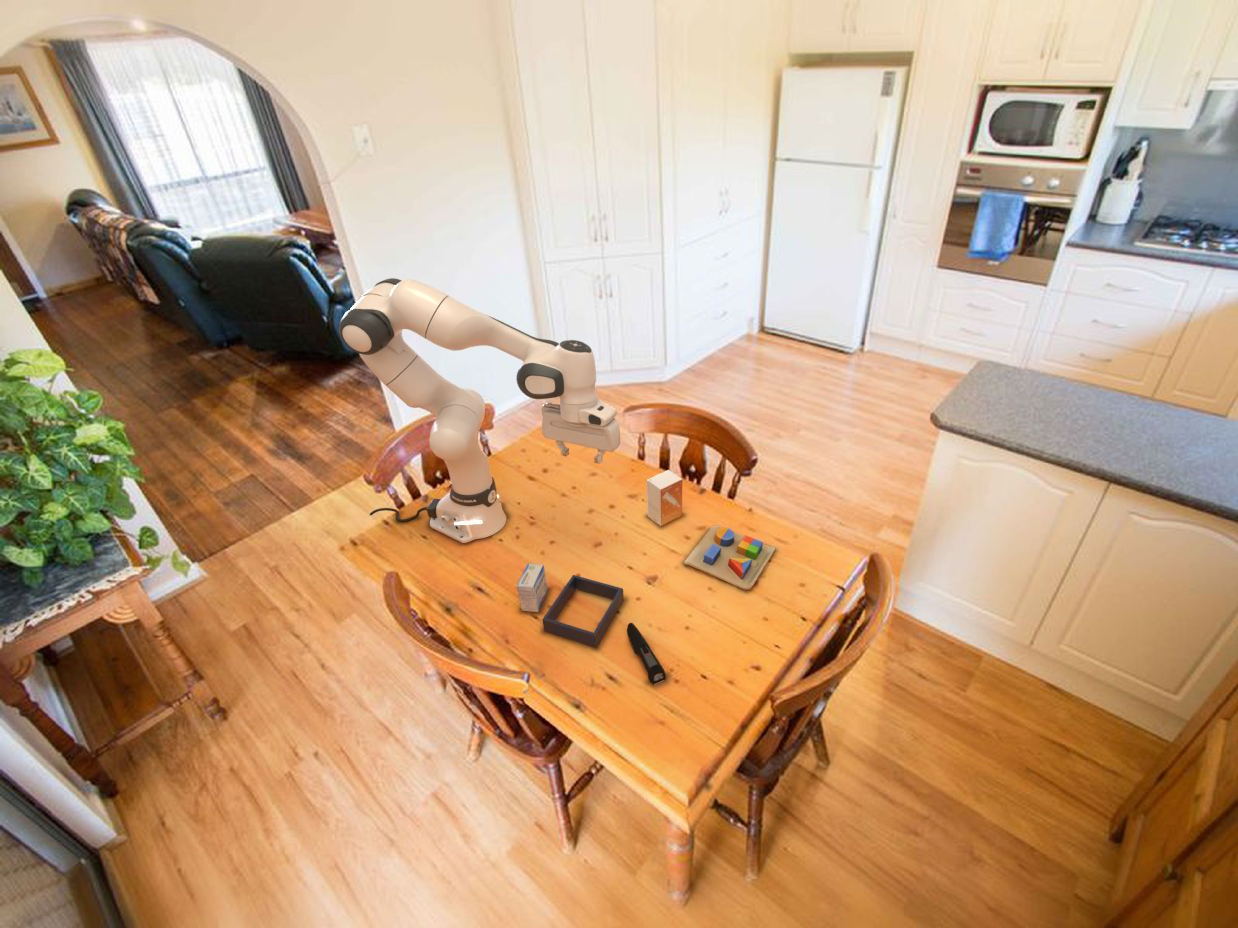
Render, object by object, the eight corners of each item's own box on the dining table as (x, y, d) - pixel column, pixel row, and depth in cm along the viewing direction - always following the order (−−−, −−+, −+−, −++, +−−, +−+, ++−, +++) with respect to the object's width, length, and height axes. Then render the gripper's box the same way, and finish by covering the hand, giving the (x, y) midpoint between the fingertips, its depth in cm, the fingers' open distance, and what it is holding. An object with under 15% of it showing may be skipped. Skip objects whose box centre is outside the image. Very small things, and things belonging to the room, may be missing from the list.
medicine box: (538, 613, 147) (533, 587, 142) (521, 611, 148) (515, 585, 143) (548, 589, 153) (544, 564, 149) (531, 587, 154) (526, 562, 149)
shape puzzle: (750, 592, 149) (752, 580, 146) (681, 566, 158) (682, 554, 155) (776, 550, 161) (778, 538, 158) (711, 528, 170) (711, 516, 167)
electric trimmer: (638, 628, 142) (637, 619, 140) (667, 679, 129) (667, 669, 128) (623, 634, 140) (622, 624, 139) (651, 685, 128) (650, 676, 126)
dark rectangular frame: (544, 631, 142) (542, 619, 140) (574, 586, 154) (573, 574, 152) (596, 648, 137) (595, 636, 135) (623, 600, 149) (623, 588, 147)
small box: (661, 527, 171) (660, 489, 164) (647, 516, 176) (645, 479, 168) (683, 515, 175) (683, 478, 168) (668, 505, 179) (668, 468, 172)
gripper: (534, 406, 146) (539, 456, 153) (611, 421, 139) (612, 473, 146) (547, 396, 151) (551, 445, 158) (622, 410, 143) (623, 460, 151)
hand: (581, 458), depth 152 cm, fingers open, 8 cm apart
